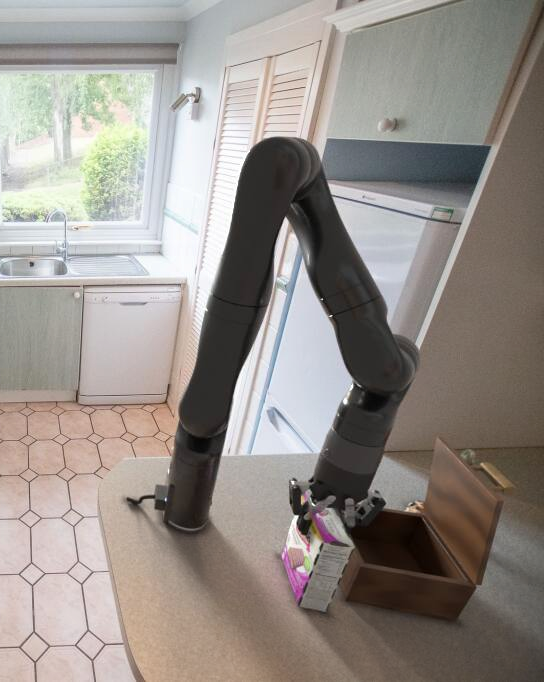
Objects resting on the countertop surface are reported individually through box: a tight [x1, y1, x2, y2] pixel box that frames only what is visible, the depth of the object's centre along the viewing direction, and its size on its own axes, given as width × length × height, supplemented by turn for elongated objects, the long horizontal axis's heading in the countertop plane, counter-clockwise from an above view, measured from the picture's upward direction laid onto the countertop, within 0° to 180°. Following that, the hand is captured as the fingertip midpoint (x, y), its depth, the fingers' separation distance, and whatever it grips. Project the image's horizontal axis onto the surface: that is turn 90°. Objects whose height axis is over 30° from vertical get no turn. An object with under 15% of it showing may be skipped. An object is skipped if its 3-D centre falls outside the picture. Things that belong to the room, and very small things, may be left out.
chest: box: [336, 503, 478, 623], centre depth 84 cm, size 17×16×9 cm
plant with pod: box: [403, 448, 477, 526], centre depth 94 cm, size 8×11×20 cm
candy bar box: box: [280, 493, 355, 613], centre depth 80 cm, size 11×5×16 cm, turn 168°
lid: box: [423, 436, 518, 586], centre depth 76 cm, size 18×16×6 cm
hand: (319, 534), depth 78 cm, fingers closed on candy bar box, 5 cm apart
